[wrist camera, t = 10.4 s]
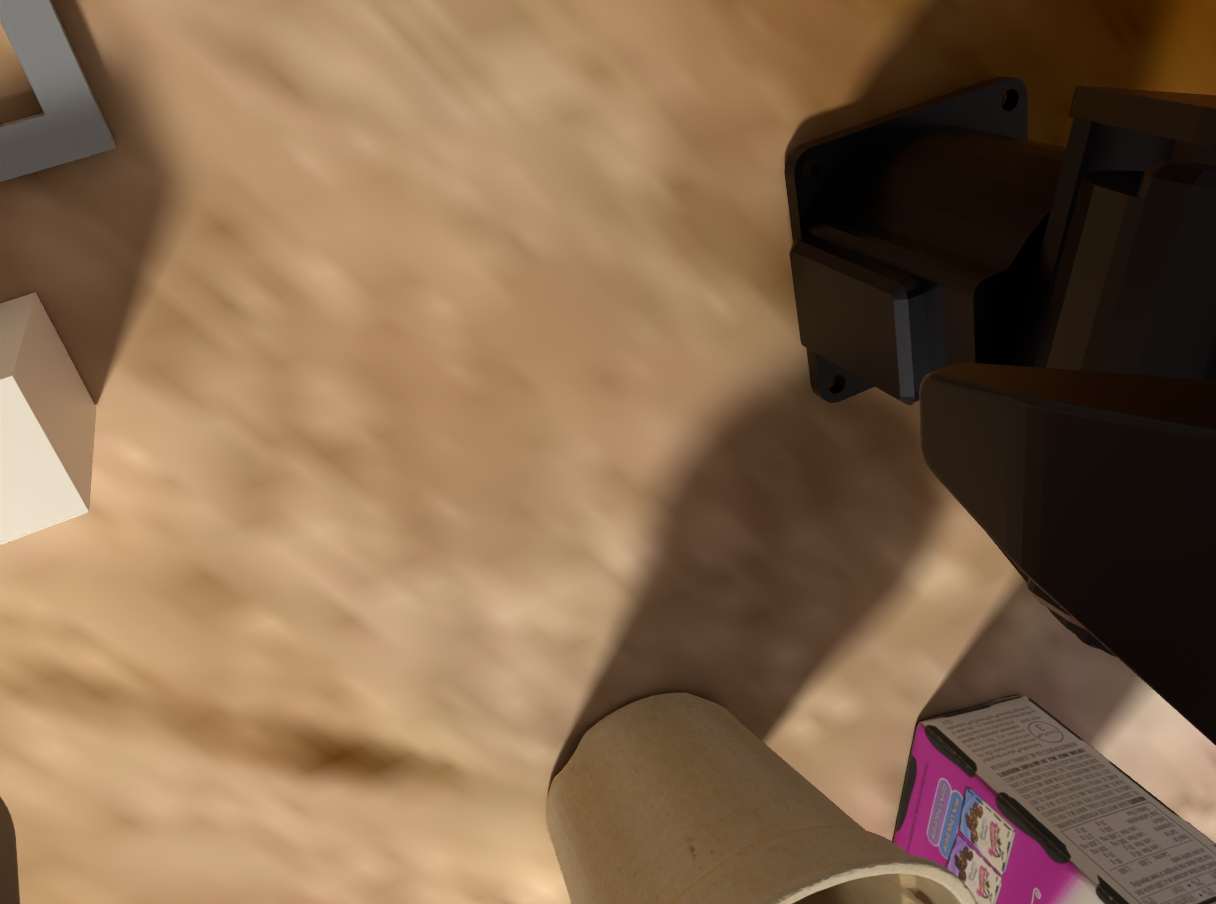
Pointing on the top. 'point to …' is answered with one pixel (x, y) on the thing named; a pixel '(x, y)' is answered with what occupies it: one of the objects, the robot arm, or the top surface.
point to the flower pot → (715, 821)
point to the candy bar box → (1043, 815)
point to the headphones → (20, 328)
